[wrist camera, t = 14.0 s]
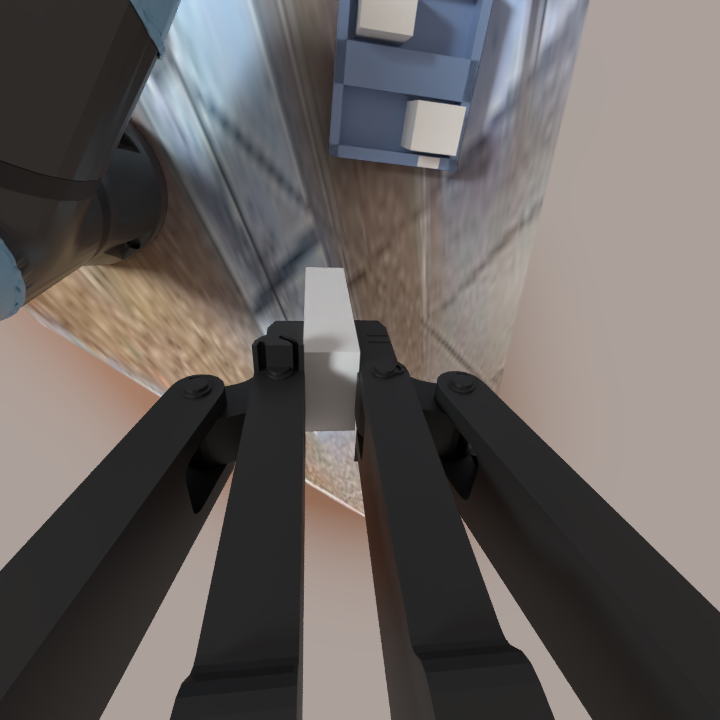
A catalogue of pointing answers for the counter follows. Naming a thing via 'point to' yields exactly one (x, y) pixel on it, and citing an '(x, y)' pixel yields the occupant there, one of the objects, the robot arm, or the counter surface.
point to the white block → (432, 127)
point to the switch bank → (403, 79)
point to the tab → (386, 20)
